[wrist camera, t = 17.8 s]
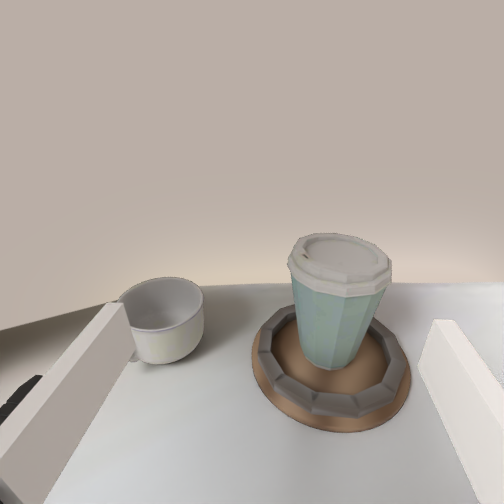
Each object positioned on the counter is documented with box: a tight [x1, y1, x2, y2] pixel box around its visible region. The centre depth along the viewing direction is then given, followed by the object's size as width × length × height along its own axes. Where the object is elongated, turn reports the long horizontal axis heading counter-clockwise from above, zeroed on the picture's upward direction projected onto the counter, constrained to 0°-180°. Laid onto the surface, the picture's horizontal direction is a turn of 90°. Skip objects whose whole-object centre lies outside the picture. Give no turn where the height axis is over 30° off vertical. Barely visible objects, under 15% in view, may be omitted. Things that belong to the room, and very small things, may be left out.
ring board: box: [252, 304, 411, 433], centre depth 37 cm, size 19×19×2 cm
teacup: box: [117, 277, 204, 364], centre depth 38 cm, size 14×11×8 cm
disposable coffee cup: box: [287, 233, 392, 371], centre depth 34 cm, size 11×11×15 cm
